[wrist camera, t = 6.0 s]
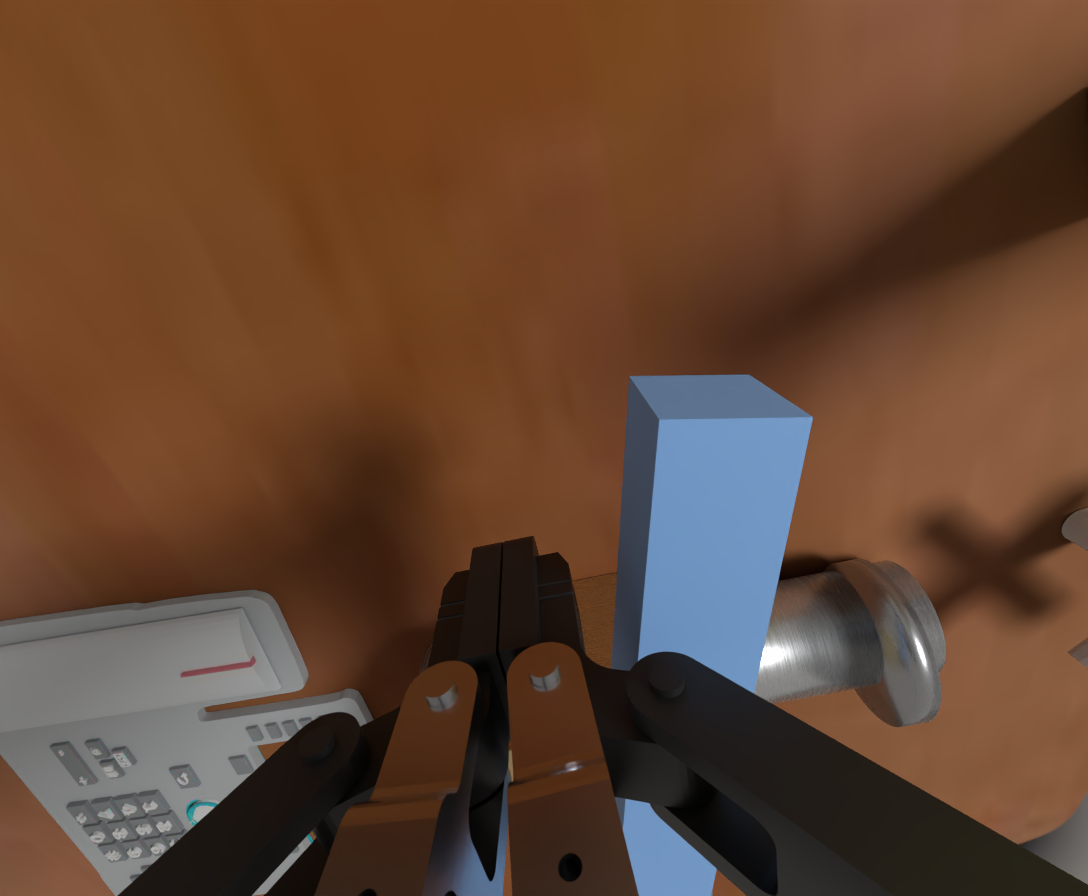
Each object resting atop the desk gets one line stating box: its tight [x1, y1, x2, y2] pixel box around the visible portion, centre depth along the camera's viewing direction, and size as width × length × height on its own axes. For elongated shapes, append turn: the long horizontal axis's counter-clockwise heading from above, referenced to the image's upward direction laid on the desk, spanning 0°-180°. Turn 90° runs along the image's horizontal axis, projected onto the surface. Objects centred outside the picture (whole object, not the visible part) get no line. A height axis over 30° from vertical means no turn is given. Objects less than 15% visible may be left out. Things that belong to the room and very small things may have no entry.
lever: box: [611, 375, 813, 896], centre depth 13 cm, size 19×4×2 cm, turn 0°
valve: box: [419, 559, 946, 781], centre depth 22 cm, size 22×7×10 cm, turn 102°
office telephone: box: [0, 590, 374, 896], centre depth 29 cm, size 23×3×20 cm
